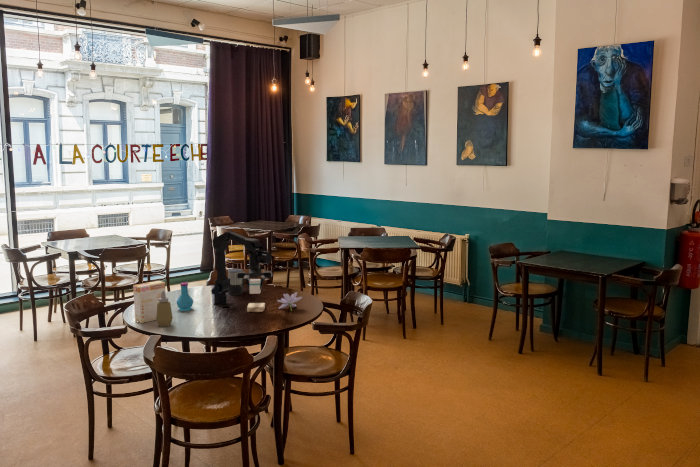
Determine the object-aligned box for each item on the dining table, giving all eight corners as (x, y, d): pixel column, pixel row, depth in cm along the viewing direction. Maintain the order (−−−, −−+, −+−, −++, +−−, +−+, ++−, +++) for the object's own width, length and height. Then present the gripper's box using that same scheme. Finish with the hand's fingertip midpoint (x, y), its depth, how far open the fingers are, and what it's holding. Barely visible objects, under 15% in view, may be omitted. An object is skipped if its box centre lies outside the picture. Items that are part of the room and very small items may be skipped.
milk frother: (241, 295, 373) (240, 271, 371) (216, 295, 374) (215, 271, 371) (245, 289, 387) (245, 266, 385) (221, 289, 388) (220, 267, 385)
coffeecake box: (161, 315, 330) (159, 280, 327) (167, 317, 325) (165, 282, 322) (134, 320, 319) (132, 284, 316) (140, 323, 314) (138, 286, 311)
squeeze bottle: (158, 323, 314) (156, 289, 312) (174, 323, 315) (172, 289, 312) (154, 328, 306) (153, 293, 304) (171, 327, 307) (169, 292, 304)
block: (247, 312, 335) (246, 307, 335) (249, 308, 344) (248, 303, 344) (263, 312, 336) (263, 307, 335) (264, 308, 345) (264, 303, 344)
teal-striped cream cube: (249, 293, 335) (249, 281, 334) (250, 291, 341) (250, 279, 340) (259, 293, 336) (259, 281, 335) (260, 291, 341) (260, 278, 340)
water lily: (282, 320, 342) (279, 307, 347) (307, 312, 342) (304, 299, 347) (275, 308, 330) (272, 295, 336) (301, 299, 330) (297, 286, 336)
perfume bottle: (197, 308, 344) (196, 282, 342) (186, 312, 336) (185, 285, 333) (184, 306, 348) (183, 280, 345) (173, 310, 339) (172, 284, 337)
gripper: (235, 265, 327) (236, 293, 330) (270, 264, 328) (270, 292, 331) (238, 261, 338) (239, 288, 341) (271, 260, 339) (272, 288, 342)
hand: (255, 289), depth 338 cm, fingers closed on teal-striped cream cube, 6 cm apart
